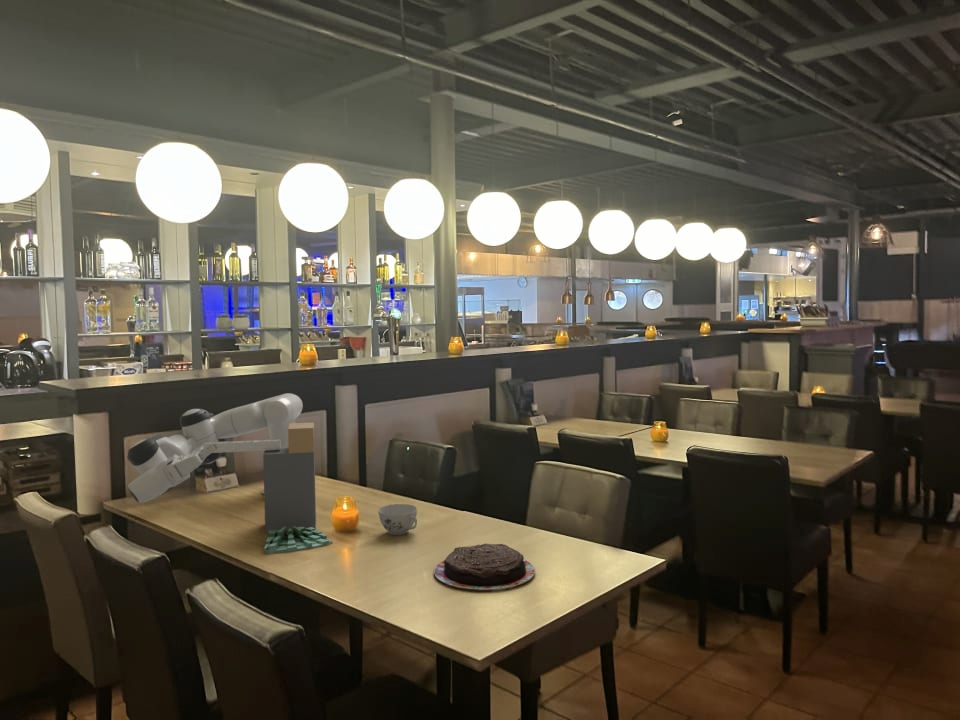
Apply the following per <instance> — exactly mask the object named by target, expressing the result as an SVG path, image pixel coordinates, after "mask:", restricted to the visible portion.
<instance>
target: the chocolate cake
mask: <svg viewBox="0 0 960 720" xmlns="http://www.w3.org/2000/svg"><path fill="white" fill-rule="evenodd" d="M535 573H536V570H535V567H534V565H533V564H532V563H531V562H530V561H528V560H526V559H525V558H524V555H523V554H522V553H520V552H519V550H516V549H514V548H513V547H509V545H506V544H504V543H497V544H496V543H483V544H476V545H469V546H459V547H455V548H454V549H453V551H452V552H450V553H449V554H448V555H447V556H446V557H445V559H444V560H442V561H440V562H439V563H438V564H437V565H436V566H435V567H434V568H433V575H434V577H435V579H437V580H438V582H441V583H443V584H445V586H446V587H448V588H457V589H459V590H461V591H468V592H472V593H473V592H474V593H485V592H486V593H487V592H495V591H498V592H499V591H503V590H504V591H505V590H512V589H515V588H516V587H518V586H520V585H522V584H525V583H530V582H531V580H532V579H533V577H534V575H535Z"/></svg>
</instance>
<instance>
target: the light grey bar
mask: <svg viewBox="0 0 960 720" xmlns="http://www.w3.org/2000/svg"><path fill="white" fill-rule="evenodd" d="M211 446H214V447H215V448H216V450H215V451H214V452H213V453H221V454H222V453H238V452H243V453H244V452H264V451H267V450H280V448H281V446H280V439H278V440H270V439H259V440H254V439H252V440H236V441H235V440H233V441H232V440H231V441H218V442H205V443H204V444H203V451H204V450H206V449H208V448H209V447H211Z"/></svg>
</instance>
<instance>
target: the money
mask: <svg viewBox="0 0 960 720" xmlns="http://www.w3.org/2000/svg"><path fill="white" fill-rule="evenodd" d="M265 543H266V544H265V545H264V548H263V549H264V555H271V554H280V553H289V552H296V551H297V552H298V551H304V550H309V549H316V548H320V547H325V546H328V545H333V540H331V539H328V535H327V534H325V533H323V531H320V530H317V527H316V528H313V527H310V528H305V527H297V528H296V527H294V526H293V532H292V530H291V528H289V530H288V532H286V527H283V528H282V529H281V530H271V531H269V532H268V533H267V538H266V541H265Z"/></svg>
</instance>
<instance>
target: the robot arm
mask: <svg viewBox="0 0 960 720" xmlns="http://www.w3.org/2000/svg"><path fill="white" fill-rule="evenodd" d="M303 408H304V406H303V400H302V399H301V398H300V397H299V395H296V394H294V393H290V392H289V393H282V394H279V395H275V396H272V397H268V398H266V399H263V400H258V401H256V402H251V403H249V404H245V405H241V406H236V407H234V408H230V409H227V410H225V411H223V412H220V413H218V414H216V415H214V413H212V412H209V410H208V411H207V410H206V409H203V408H192V409H189V410H186V411H185V412H184V413H183V414H182V415H181V416H180V417H179V425H180V427H181V430H182V433H183V435H182V434H173V435H171V436H168V437H167V436H165V435H164V434H160V435H158V434H157V435H156V436H152V437H150V438H149V437H148V438H145V439H141V440H138V441H137V442H135V443H134V444H132V446H130V448H128V452H127V456H126V459H127V460H128V461H129V462H130V464H131V465H132V466H134V468H135V469H136V471H137V472H138V474H140V475H139V476H137V477H136V478H135V479H134V480H132V481H131V482H129V484H128V486H127V489H128V491H129V494H130V495H131V496H132V498H133V499H134V500H135V501H136V502H137V503H140V504H144V503H148V502H149V501H151V500H153V499H155V498H157V497H160V496H162V495H164V494H167V493H168V492H169V491H171V490H173V489H174V488H175V487H177V485H179V484H182V483H183V482H184V481H186V480H189V479H190V478H191V473H193V471H194V470H196V469H198V467H200V465H210V464H212V463H214V462H216V461H218V459H220V457H221V456H222V453H213V452H214V451H215V450H216V448H215V447H214V446H211V447H209V448H208V449H206V450H204V451H203V444H204V443H205V442H219V439H229V438H236V437H239V436H242V435H243V436H244V435H247V434H251V433H254V432H258V431H261V430H265V429H268V433H269V438H270V439H269V440H278V439H280V446H281V447H289V444H288V428H289V424H290V423H296V419H297V418H298V417H299V416H300V414H301V413H302V411H303ZM213 415H214V416H213ZM261 494H263V495H264V489H262V490H261Z"/></svg>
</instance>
